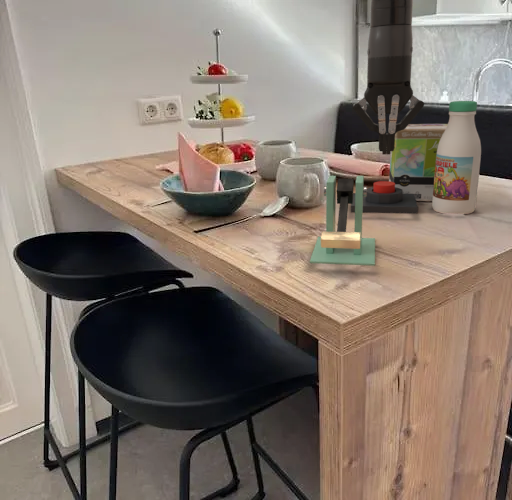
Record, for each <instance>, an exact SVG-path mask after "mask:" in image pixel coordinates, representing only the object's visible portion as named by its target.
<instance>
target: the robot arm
mask: <svg viewBox="0 0 512 500" xmlns="http://www.w3.org/2000/svg"><path fill="white" fill-rule="evenodd" d="M413 1H414V0H370V7H369V8H370V9H369V34H368V41H367V50H366V53H367V72H366V73H367V74H366V75H367V77H366V81H367V82H366V89H365V91H364V93H363V97H362V98H361V99H360V100H359V101H357V102H355V103H354V104H353V105H352V108H353V110H354V111H355V113H356V114H357V115H358V117H359V118H360V119H361V121H362V122H363V123H364V125H365V126H366V127H367V128H368V130H369V131H371V132H376V133H377V134H378V150H379V152H382V155H386V156H388V155H390V156H391V151H394V149H395V134H396V133H397V132H398V131H401V130H404V129H405V128H406V127H407V126H408V124H411V122H412V121H413V120H414V119H415V117H416V116H417V115H418V114H419V113H420V112H421V110H422V109H423V108H424V106H425V102H424V101H423V100H421V99H419V98H417V96H415V95H414V90H413V88H412V86H411V85H412V84H411V83H412V81H411V80H412V59H413V51H414V47H413V44H414V43H413V42H414V41H413V39H414V38H413V26H412V25H413V11H414V10H413V9H414V6H413V5H414V2H413ZM408 103H409V104H408ZM367 104H368V105H369V107H370V108H371V109H372V111H373V112H374V113H375V114H377V119H378V121H377V122H378V123H375V122H374V121H373V119H372V118H371V117H370V116H369V114H368V113H367V110H368V106H367ZM407 104H408V108H409V110H408V112H407V113H406V114H405V115H404V117H403V118H402V119H401V120H400V121H399V122H398V123H397V121H398V114H400V113H401V112H402V111H403V109H404V108H405V107H406V105H407ZM387 114H388V115H389V119H388V127H386V115H387Z"/></svg>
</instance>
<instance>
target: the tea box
mask: <svg viewBox="0 0 512 500" xmlns="http://www.w3.org/2000/svg"><path fill="white" fill-rule="evenodd" d="M447 125H448V123H409V124H408V126H407V127H406V128H405V129H404V130H401V131H398V132H397V133H396V134H395V149H394V151H391V153H390V159H389V173H388V181H389V182H394V183H395V187H397V188H400V189H402V190H403V194H414V195H415V199H416V202H432V201H433V188H434V175H435V164H436V155H437V148H438V144H439V141H440V139H441V137H442V135H443V133H444V131H445V129H446V127H447Z"/></svg>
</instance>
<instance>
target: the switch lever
mask: <svg viewBox="0 0 512 500" xmlns="http://www.w3.org/2000/svg"><path fill="white" fill-rule="evenodd" d="M354 184H355V183H354V178H338V179H337V183H336V204H338V205H339V207H338V217H337V227H336V231H335V232H328V231H326V230H325V231H324V230H323V231H322V230H321V234H320V237H321V248H348V249H360V239H361V233H360V232H354V231H347V224H348V223H347V222H348V211H349V205H351V204H353V193H354Z"/></svg>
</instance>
